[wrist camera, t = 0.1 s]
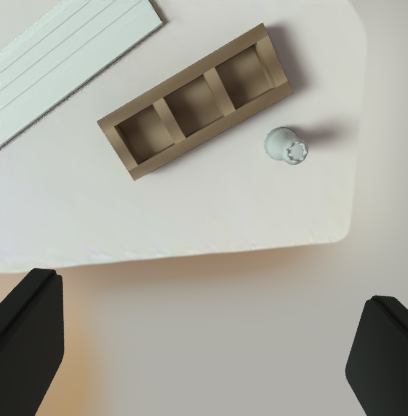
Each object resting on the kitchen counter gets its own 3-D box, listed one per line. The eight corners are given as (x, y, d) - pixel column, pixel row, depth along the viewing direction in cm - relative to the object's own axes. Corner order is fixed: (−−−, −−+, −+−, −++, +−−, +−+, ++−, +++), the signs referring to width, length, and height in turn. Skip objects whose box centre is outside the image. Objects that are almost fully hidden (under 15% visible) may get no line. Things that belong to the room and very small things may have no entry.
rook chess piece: (290, 162, 46) (309, 174, 39) (260, 156, 46) (273, 167, 38) (299, 130, 45) (321, 136, 37) (268, 124, 45) (283, 129, 37)
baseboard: (-71, 95, 42) (-14, 159, 45) (-88, 95, 40) (-27, 162, 43) (113, -56, 38) (164, 25, 41) (107, -68, 35) (162, 20, 38)
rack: (103, 119, 44) (96, 121, 40) (257, 28, 41) (262, 22, 37) (138, 175, 46) (134, 180, 43) (285, 92, 43) (292, 92, 40)
